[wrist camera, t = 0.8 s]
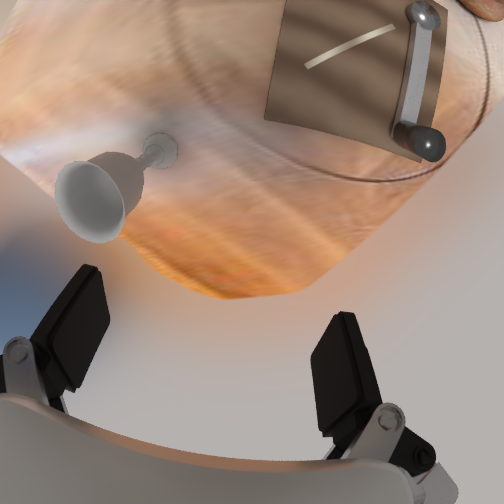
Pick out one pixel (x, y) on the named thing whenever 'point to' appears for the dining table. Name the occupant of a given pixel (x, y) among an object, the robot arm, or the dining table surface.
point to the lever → (417, 87)
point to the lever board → (350, 68)
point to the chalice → (108, 188)
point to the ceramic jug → (486, 8)
